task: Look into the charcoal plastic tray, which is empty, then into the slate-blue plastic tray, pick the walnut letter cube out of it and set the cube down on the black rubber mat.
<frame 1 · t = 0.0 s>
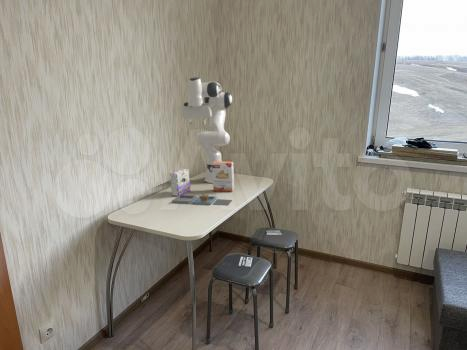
hand: (197, 124, 232), 48 cm above the table, tool pointing down, fingers open, 8 cm apart
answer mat: (222, 203, 221), on the table
slate tray: (204, 202, 225), on the table
letter cube: (204, 201, 225), point 1 cm above the table, touching slate tray
charcoal tray: (184, 201, 228), on the table
candy box: (181, 193, 245), on the table
cracker box: (224, 190, 248), on the table
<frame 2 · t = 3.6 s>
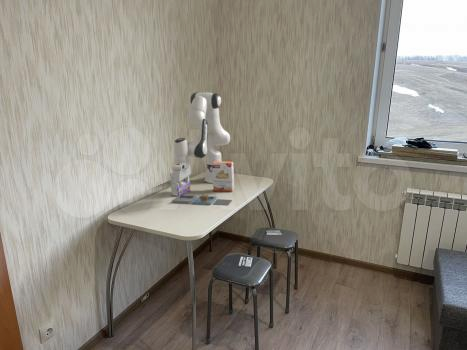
hand: (183, 184, 226), 11 cm above the table, tool pointing down, fingers open, 8 cm apart
nothing on the table moved.
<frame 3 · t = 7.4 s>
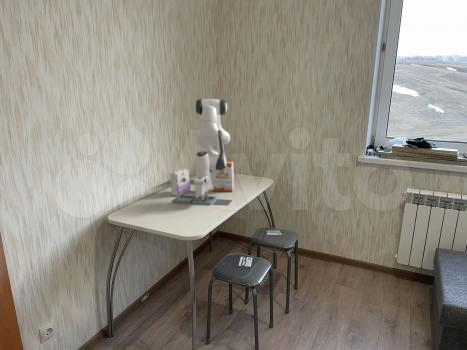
hand: (204, 198, 224), 3 cm above the table, tool pointing down, fingers closed on letter cube, 4 cm apart
letter cube: (204, 201, 225), point 1 cm above the table, touching gripper, slate tray
everything else where it was.
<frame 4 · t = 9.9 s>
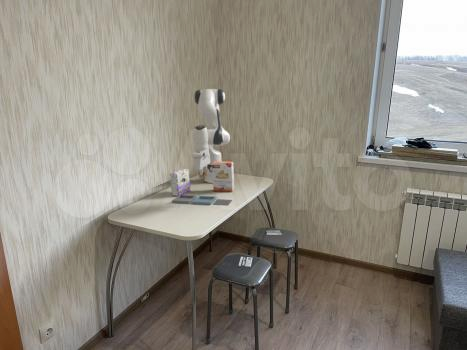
hand: (203, 173, 220), 19 cm above the table, tool pointing down, fingers closed on letter cube, 4 cm apart
letter cube: (203, 176, 220), point 17 cm above the table, touching gripper
everything else where it was.
when the fingers open (5 cm above the table, at t = 13.0 s): letter cube drops 2 cm, resting on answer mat.
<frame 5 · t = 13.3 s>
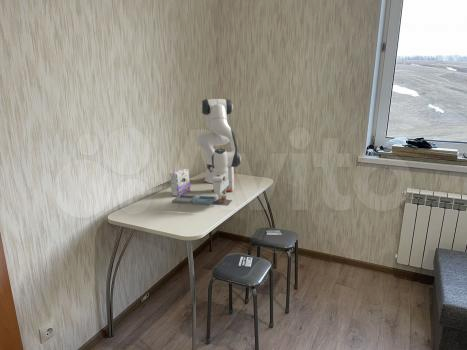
hand: (222, 196, 220), 5 cm above the table, tool pointing down, fingers open, 7 cm apart
letter cube: (222, 202, 221), point 1 cm above the table, touching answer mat
everything else where it was.
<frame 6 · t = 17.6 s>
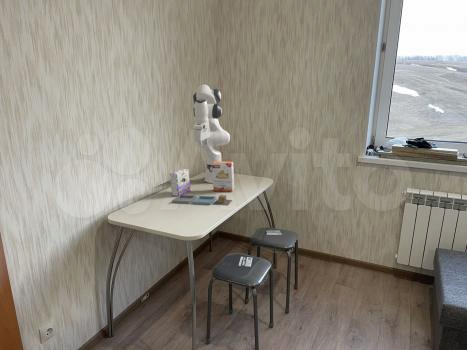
hand: (203, 146, 230), 34 cm above the table, tool pointing down, fingers open, 8 cm apart
nothing on the table moved.
at the end: letter cube inside the target area on the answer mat (0.0 cm from its centre), point 0.8 cm above the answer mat's base; letter cube tilted 0°; the gripper is holding nothing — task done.
